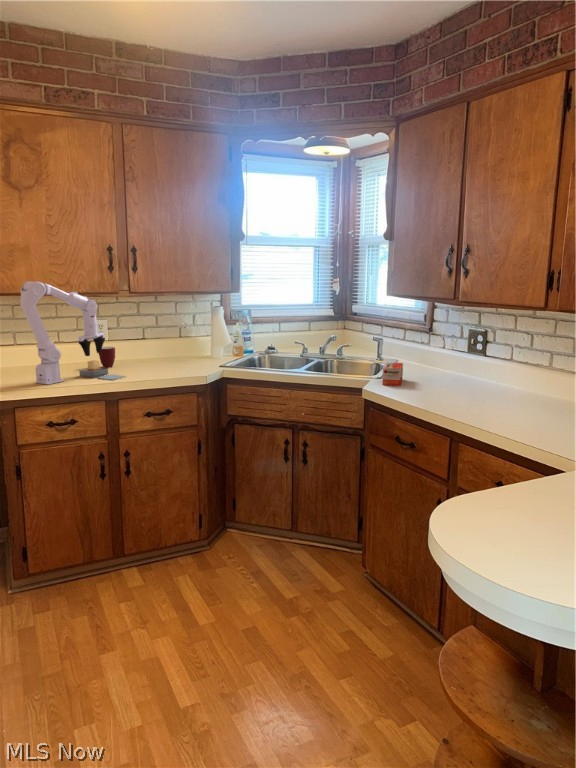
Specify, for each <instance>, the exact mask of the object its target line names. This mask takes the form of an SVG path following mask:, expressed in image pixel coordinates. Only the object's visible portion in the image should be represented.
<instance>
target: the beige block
mask: <svg viewBox="0 0 576 768" xmlns="http://www.w3.org/2000/svg"><path fill="white" fill-rule="evenodd" d="M87 368H88V370H92V371H95V370H99V368H100V363H99V360H94V359H93V360H88V361H87Z"/></svg>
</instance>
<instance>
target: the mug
mask: <svg viewBox="0 0 576 768" xmlns="http://www.w3.org/2000/svg"><path fill="white" fill-rule="evenodd" d="M98 357H99V360H100V363H101V365H102V368H104V367H105V368H107V369H109V368H108V367H111V368H113V366H114V364H115V359H116V347H114V346H102V352H101V353H98Z"/></svg>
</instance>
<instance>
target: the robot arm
mask: <svg viewBox="0 0 576 768" xmlns="http://www.w3.org/2000/svg"><path fill="white" fill-rule="evenodd" d="M44 295H46V296H47V295H49V296H50V295H51V296H53V297H56V298H58V299H61V300H64V301H65V303H66V304H67V305H70V306H72V307H75V308H77V309H80V311H82V320H83V331H84V334H83V335H82V336H78V337H77V338H78V344H79V346H80V347H81V348H82V350H83V353H84V356H85V357H90V356H91V350H90V349H91V343H92V341H90V340H93V341H94V345H95V349H96V350H95V351H96V354H99V353H101V352H102V347H104V346H103V345H104V343H105V341H106V338H105V333H104V332H98V321H97V320H98V319H97V310H98V308H99V307H98V306H99V304H97V302H96V301H95V300H94V299H90V298H89V299H88V297H87V296H83V295H80V294H79V293H78V292H77V291H71V292H65V290H62V289H59V288H57V287H56V286H55V287H54V286H52V285H50V284H48V283H44V282H41V281H25V282H24V283H23V284H22V286H21V287H20V303H19V304H20V308H21V310H22V312H23V315H24V316H25V318H26V320H27V323H28V325H29V328H30V329H31V332H32V334H33V336H34V337H35V340H36V342H37V344H36V348H37V355H38V358H40V359H41V360H40V364H37V365H36V367H35V376H36V379H35V380H36V381H35V384H40V385H41V384H42V385H52V384H57V383H60V382H61V383H62V382H65V381H66V380H65V379H63V378H62V379H61V369H60V359H61V356H62V352H61V350H60V349H59V348H57V347H56V344H55V343H54V342H53V341H52V339H51V338H50V336H49V334H48V331H47V329H46V328H45V325H44V323H43V320H42V318H41V315H40V314H39V312H38V309H37V306H36V305H37V303H38V301H39V300H40V299H41V298H42V297H44Z"/></svg>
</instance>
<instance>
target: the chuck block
mask: <svg viewBox="0 0 576 768" xmlns="http://www.w3.org/2000/svg"><path fill="white" fill-rule="evenodd" d="M78 373H79V377H80V376H81V377H80V378H88V377H89V378H90V379H97V378H98V377H100V376H102V377H103V376H104V375H106V376H107V374H108V375H109V368H104V367H99V370H95V371H92V370H88V367H87V368H84V369H79V370H78ZM96 377H97V378H96ZM89 378H88V379H89Z"/></svg>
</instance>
